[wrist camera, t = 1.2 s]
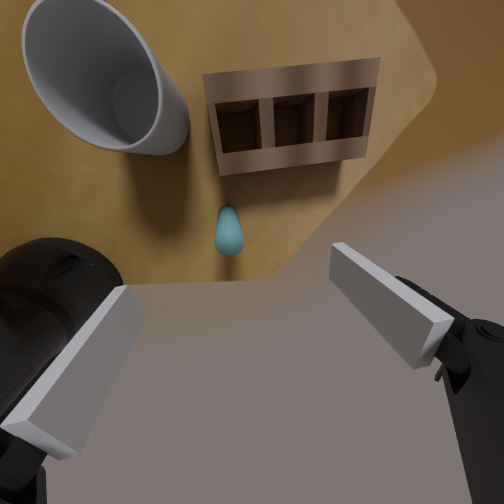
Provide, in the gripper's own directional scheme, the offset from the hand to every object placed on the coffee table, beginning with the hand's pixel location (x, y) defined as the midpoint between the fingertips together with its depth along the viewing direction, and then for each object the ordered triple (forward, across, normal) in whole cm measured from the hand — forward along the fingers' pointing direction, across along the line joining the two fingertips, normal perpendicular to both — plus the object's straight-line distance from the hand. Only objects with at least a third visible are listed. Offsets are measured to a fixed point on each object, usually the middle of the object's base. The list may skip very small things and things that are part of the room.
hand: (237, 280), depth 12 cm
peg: (+18, 0, 0) cm, 19 cm away
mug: (+19, -7, +15) cm, 25 cm away
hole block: (+18, +9, +10) cm, 23 cm away
